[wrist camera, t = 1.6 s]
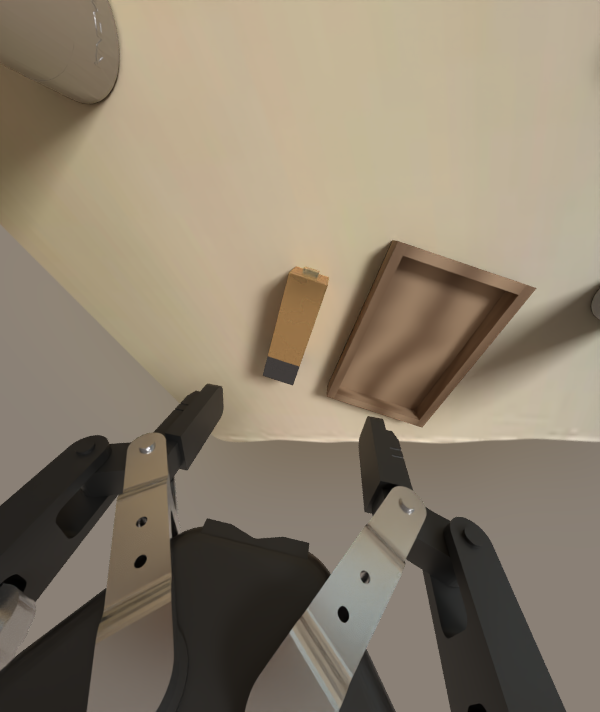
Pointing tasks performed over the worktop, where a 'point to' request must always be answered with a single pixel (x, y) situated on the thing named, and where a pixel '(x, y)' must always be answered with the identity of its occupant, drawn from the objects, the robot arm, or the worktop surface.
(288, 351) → the battery cell
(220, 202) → the worktop surface
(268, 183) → the worktop surface
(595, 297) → the lotion bottle
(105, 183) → the worktop surface
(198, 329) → the worktop surface
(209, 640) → the robot arm
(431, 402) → the brown wooden tray
